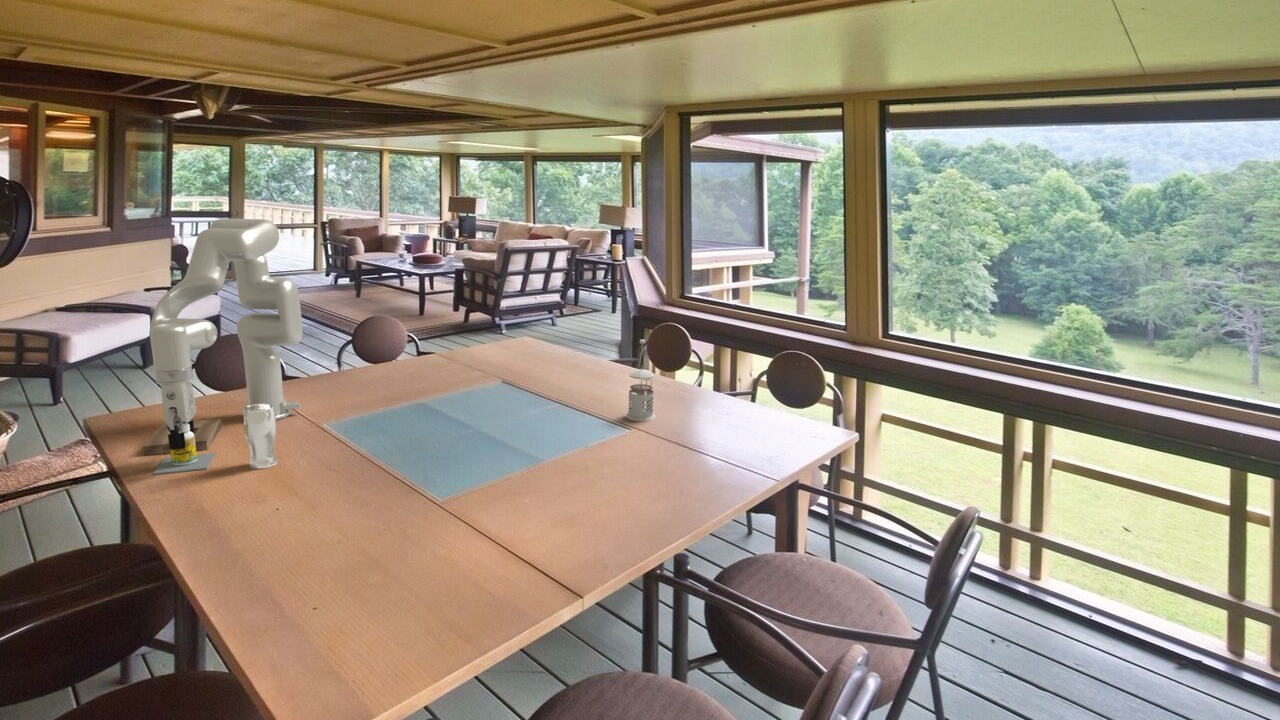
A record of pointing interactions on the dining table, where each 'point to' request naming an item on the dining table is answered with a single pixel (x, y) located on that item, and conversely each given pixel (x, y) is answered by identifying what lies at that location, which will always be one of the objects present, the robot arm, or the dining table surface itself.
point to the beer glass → (260, 434)
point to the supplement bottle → (185, 449)
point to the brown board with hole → (203, 436)
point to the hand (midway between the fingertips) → (182, 442)
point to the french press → (641, 396)
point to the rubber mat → (200, 464)
